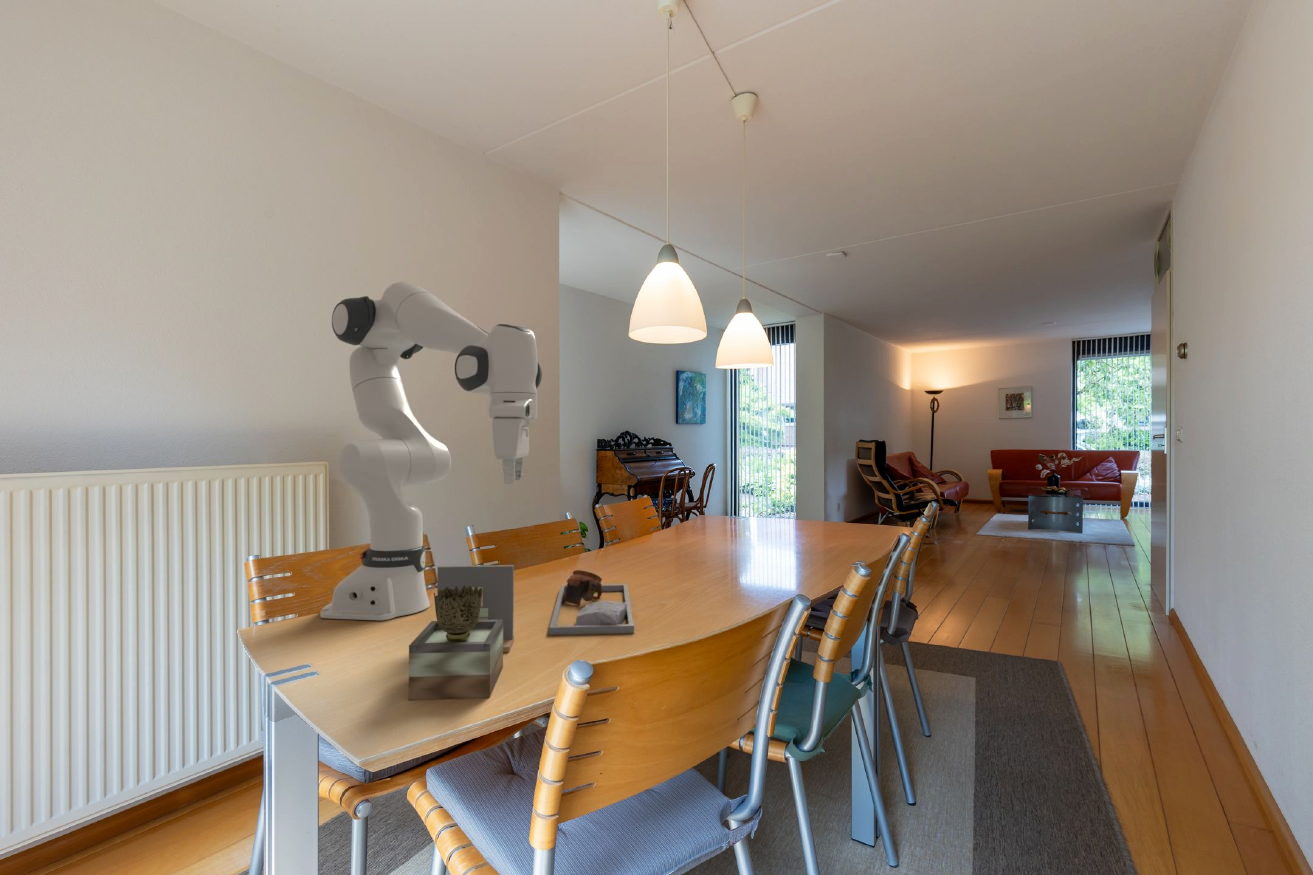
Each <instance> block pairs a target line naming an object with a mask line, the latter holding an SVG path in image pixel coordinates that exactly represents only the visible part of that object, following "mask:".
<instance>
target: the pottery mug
mask: <svg viewBox="0 0 1313 875" xmlns="http://www.w3.org/2000/svg"><path fill="white" fill-rule="evenodd" d="M602 580H603V579H602V577H601V576H599V575H598V574H596V573H594V572H590V571H586V570H581V569H579V570H578V569H577V570H573V572H572V575H570V576H569V577H568V579H567V580H566V585H567V588H566V592H565V593H563V601H562V603H565V602H567V603H570V604H573V605H578V606H580V605H581V602H582V599H583V600H584V601H585V602H590V601H592V600H593V598H594V595H595V593H596V592H597V595H596V596H597V598H600V597H602V595H603V594H602V593H603V591H602V588H601V587H602V585H603V584H602V583H601V582H603V581H602ZM595 591H596V592H595Z"/></svg>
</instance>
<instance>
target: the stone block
mask: <svg viewBox="0 0 1313 875" xmlns="http://www.w3.org/2000/svg"><path fill="white" fill-rule="evenodd" d="M626 613H627V604H626V602H625V601H624V602H618V601H613V600H601V601H597V602H591V603H587V604H585V606H583V607H581V609H580V611H579V612H578V614H576V618H575V620H576V621H575V622H576V626H578V625H622V624H623V622H624V621H625V619H626V618H627V614H626Z"/></svg>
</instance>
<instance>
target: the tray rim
mask: <svg viewBox="0 0 1313 875" xmlns="http://www.w3.org/2000/svg"><path fill="white" fill-rule="evenodd" d="M601 585H602V587H601V588H602V592H623V598H624V603H625V602H626V604H627V613H626V620H627V624H623V623H622V624H621V625H578V626H577V625H558V622H559V618H560V614H561V608H562V605H563V593H565V592H566V588H567V584H566V585H565V584H562V585H560V587H559V588H560V589H559V592H558V595H557V598H556V603H555V606H554V609H553V613H552V616H551V620H550V624H549V628H548V629H549V630H548V632H549V634H548V635H549V636H565V635H566V636H570V635H572V636H573V635H574V636H575V635H611V634H613V635H614V634H616V635H617V634H620V635H621V634H635V623H634V617H633V616H634V615H633V611H632V605H631V600H630V594H629V587H628V583H624V584H622V583H621V584H601Z"/></svg>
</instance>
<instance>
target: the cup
mask: <svg viewBox="0 0 1313 875" xmlns="http://www.w3.org/2000/svg"><path fill="white" fill-rule="evenodd" d="M482 592H483V591H482V588H480V589H479V590H478V588H477V587H475V588H474V591H473V588H472V587H471V586H469V587H467V588H466V586H463V588H462V589H461V590H460V591H459V589H458V588H457V586H456V587H455V589H454V590H452V589H450V588H448V587H445V588H444V590H439V591H438V595H436V593H435V592H433V597H434V598H433V599H434V607H435V608H434V609H435V617H436V621H437V622H438V625H439V627H440V628H441V629H442V630H443V631H445V632H447V634H446V639H447V641H448V642H464V641H466V640H468V639H469V637H470V632H469V630H471V629H472V628H474V626H475V625H476V624H477V621H478V619H479V614H480V607H481V599H482Z"/></svg>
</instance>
